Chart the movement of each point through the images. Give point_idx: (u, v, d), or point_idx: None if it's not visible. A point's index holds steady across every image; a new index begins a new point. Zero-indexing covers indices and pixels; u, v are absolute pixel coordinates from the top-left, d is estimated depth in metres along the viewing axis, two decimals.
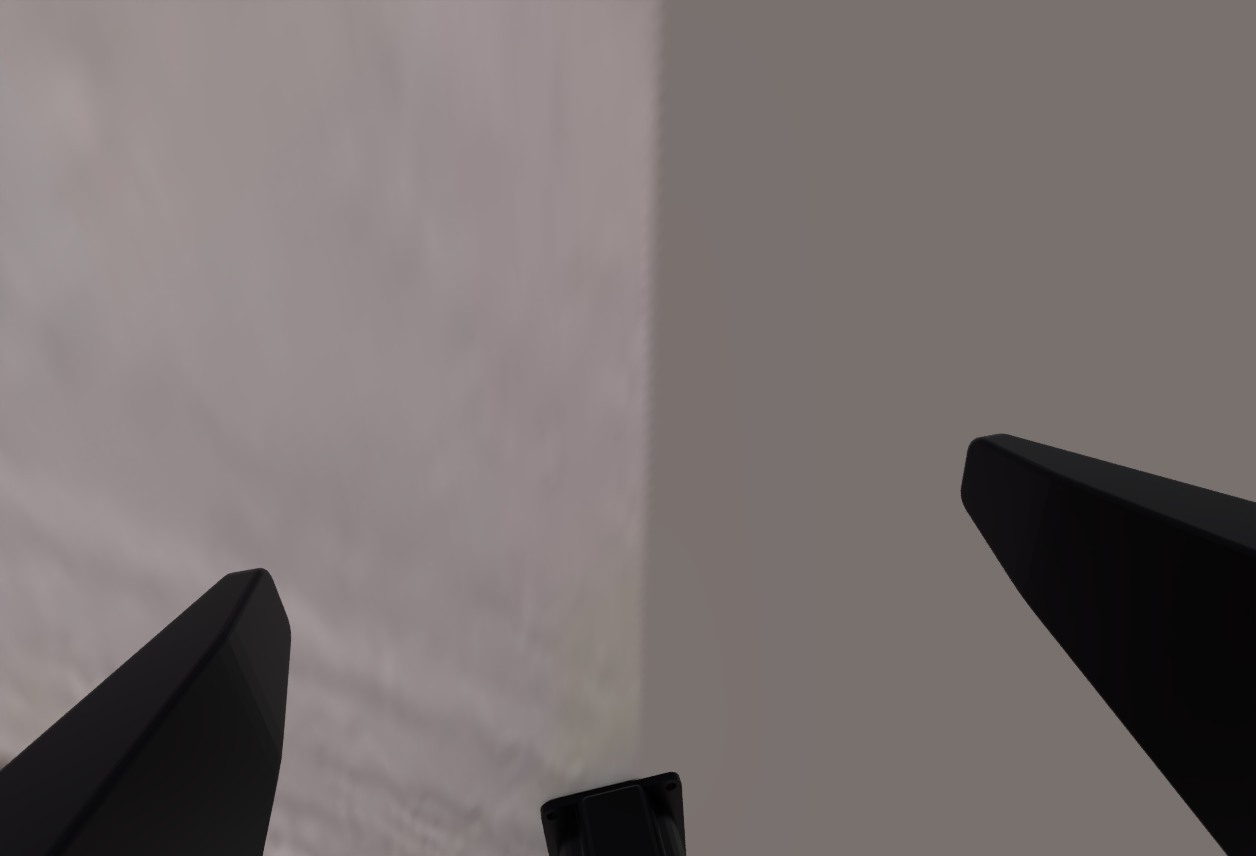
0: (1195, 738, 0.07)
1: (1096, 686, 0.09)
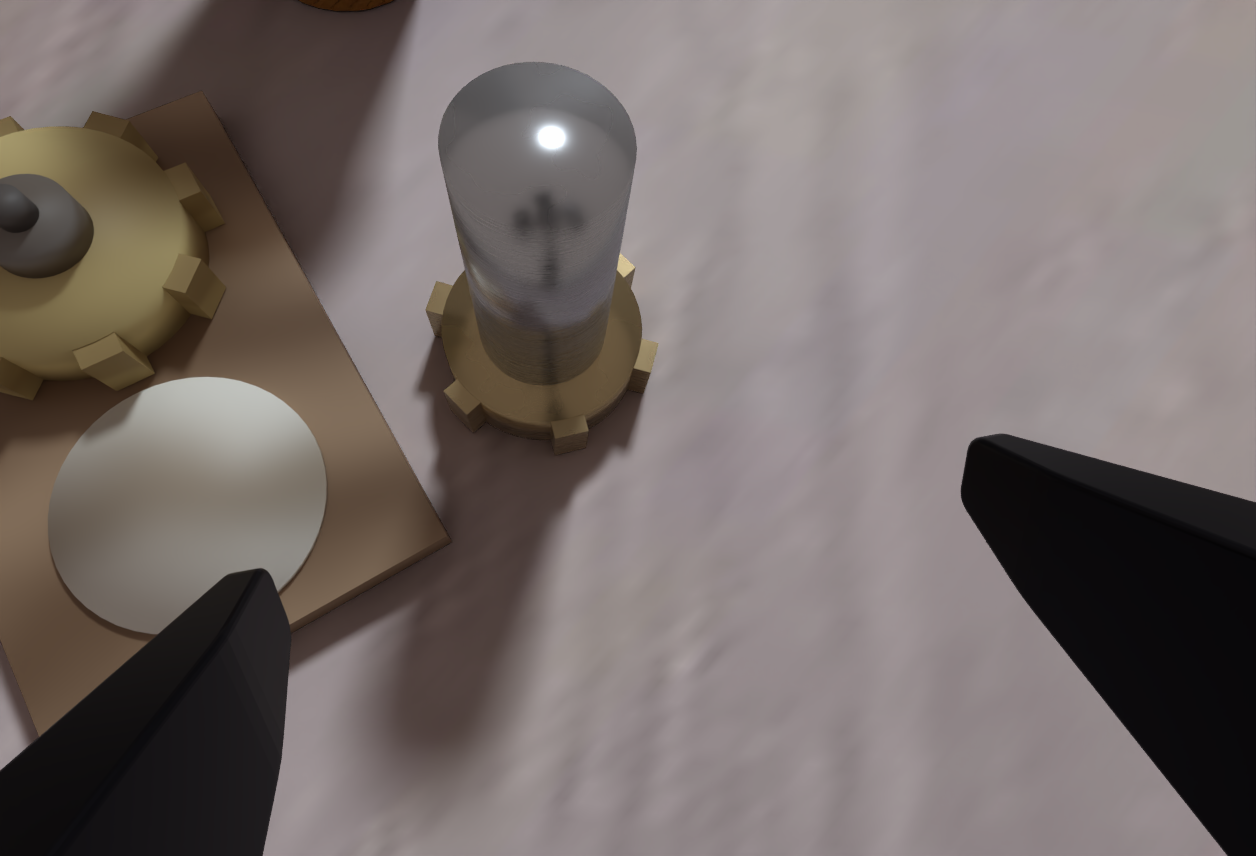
0: (1195, 738, 0.07)
1: (1096, 687, 0.09)
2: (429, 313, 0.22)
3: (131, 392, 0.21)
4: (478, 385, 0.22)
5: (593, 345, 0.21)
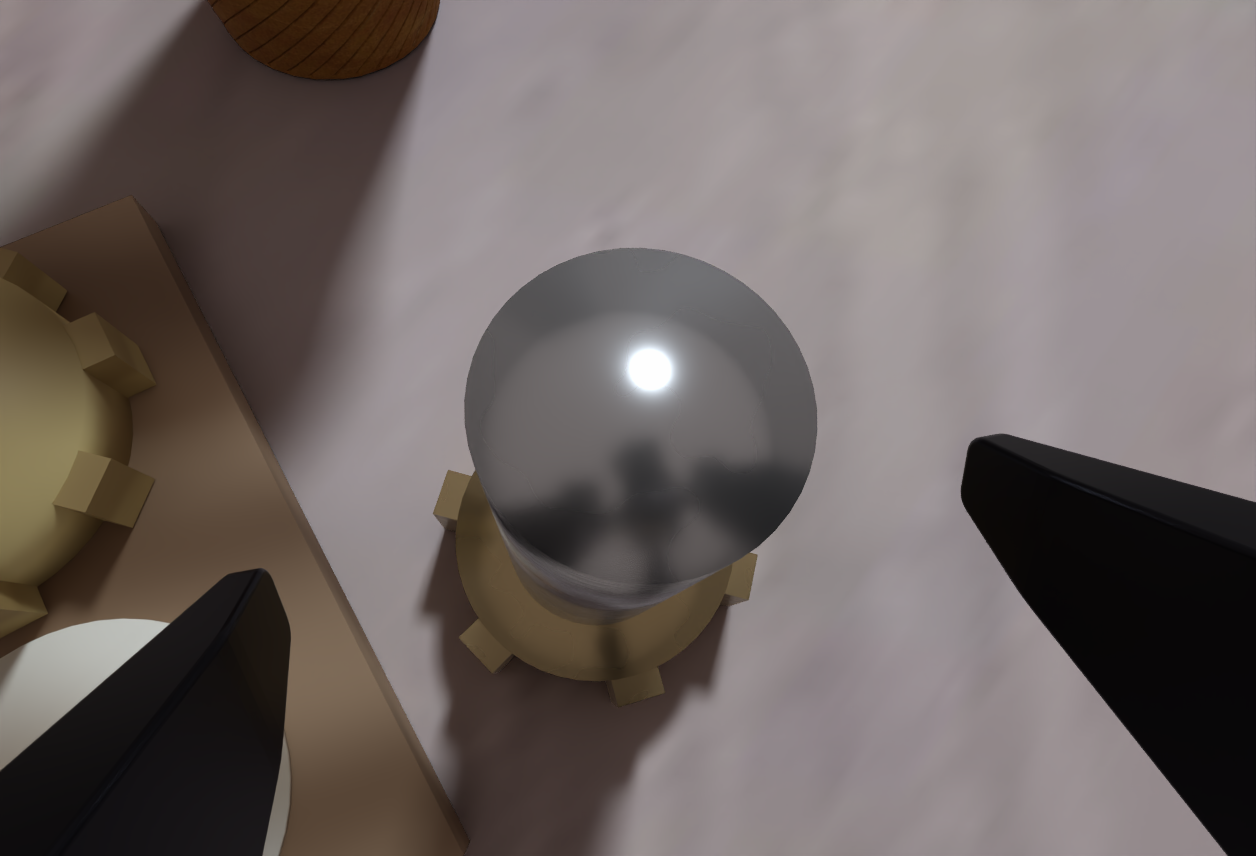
0: (1195, 738, 0.07)
1: (1097, 687, 0.09)
2: (438, 516, 0.16)
3: (12, 643, 0.15)
4: (507, 627, 0.15)
5: None
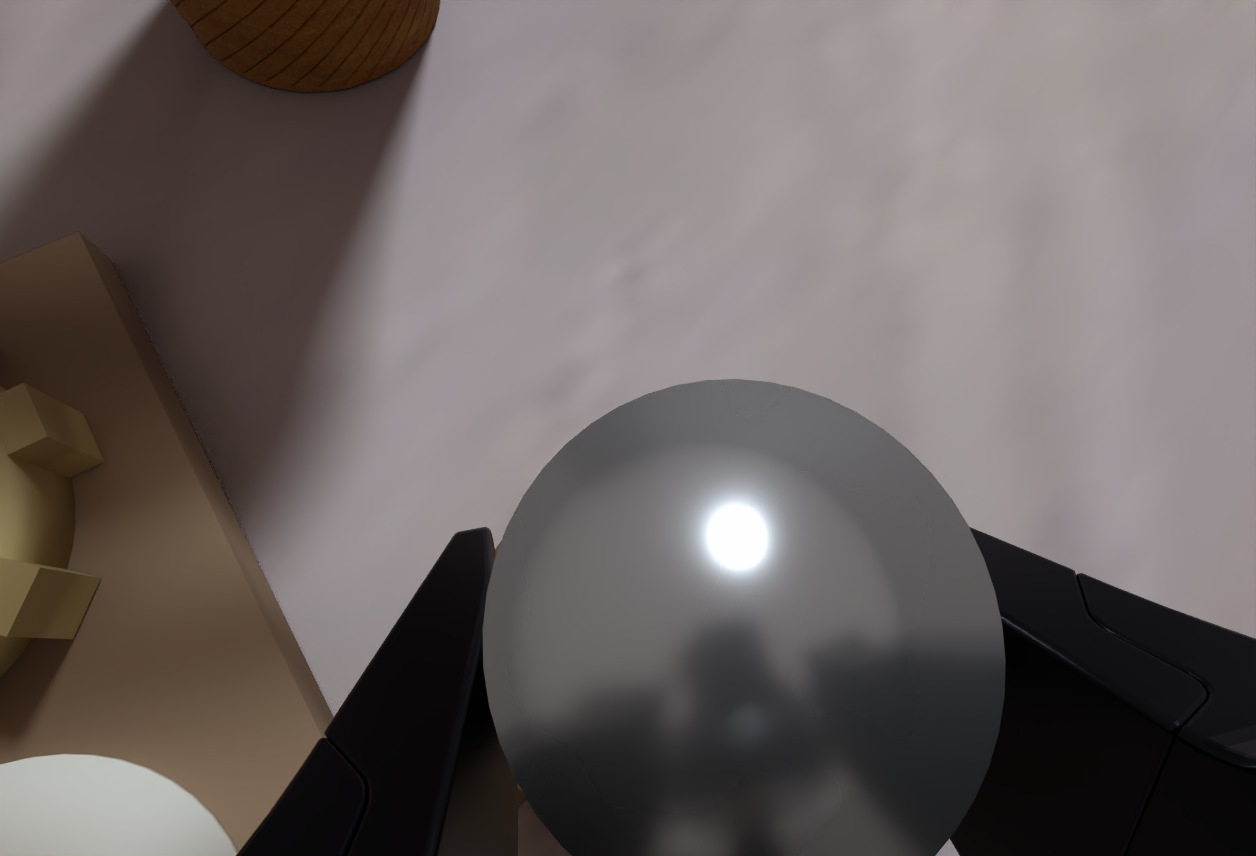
0: None
1: None
2: None
3: None
4: None
5: None
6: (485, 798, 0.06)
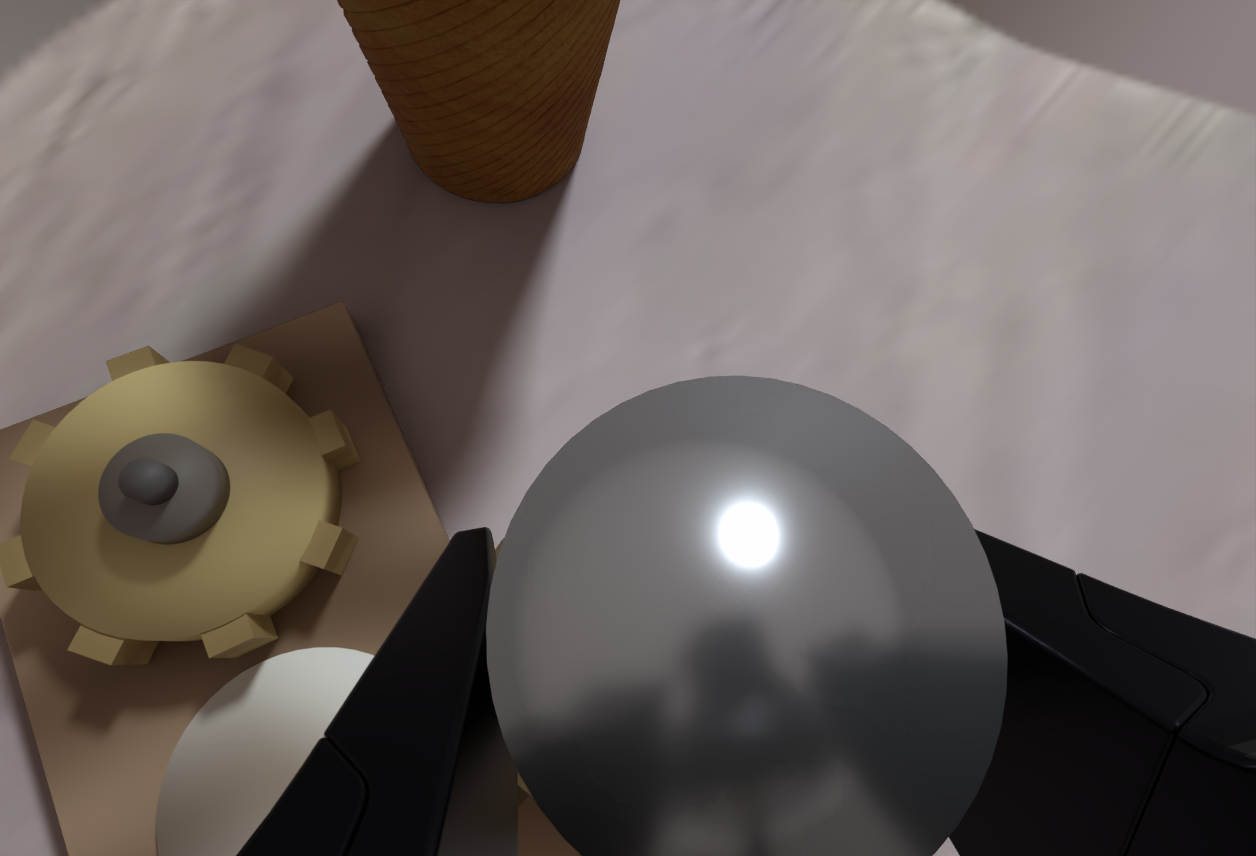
0: None
1: None
2: None
3: (252, 658, 0.20)
4: None
5: None
6: (485, 798, 0.06)
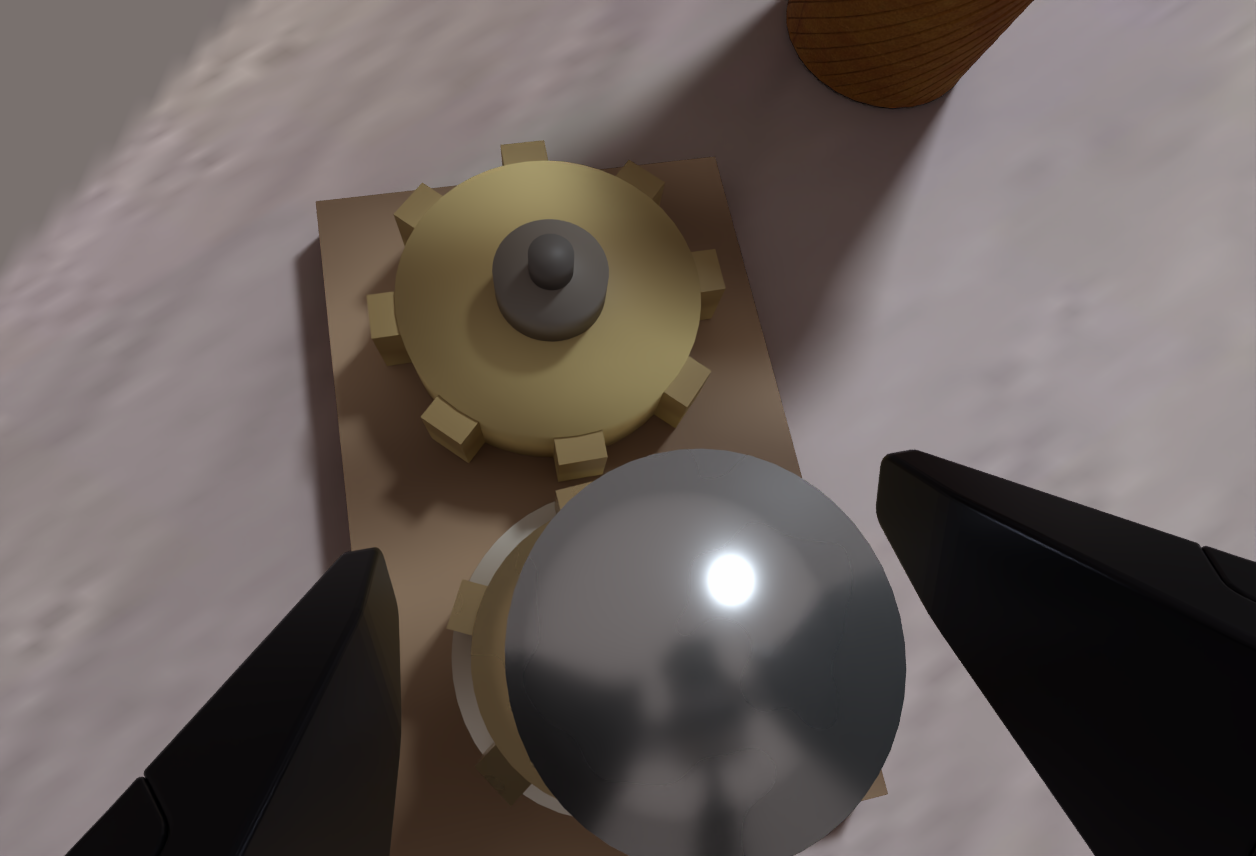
0: (1084, 767, 0.07)
1: (996, 711, 0.08)
2: (452, 629, 0.15)
3: None
4: (527, 755, 0.14)
5: None
6: (324, 837, 0.06)
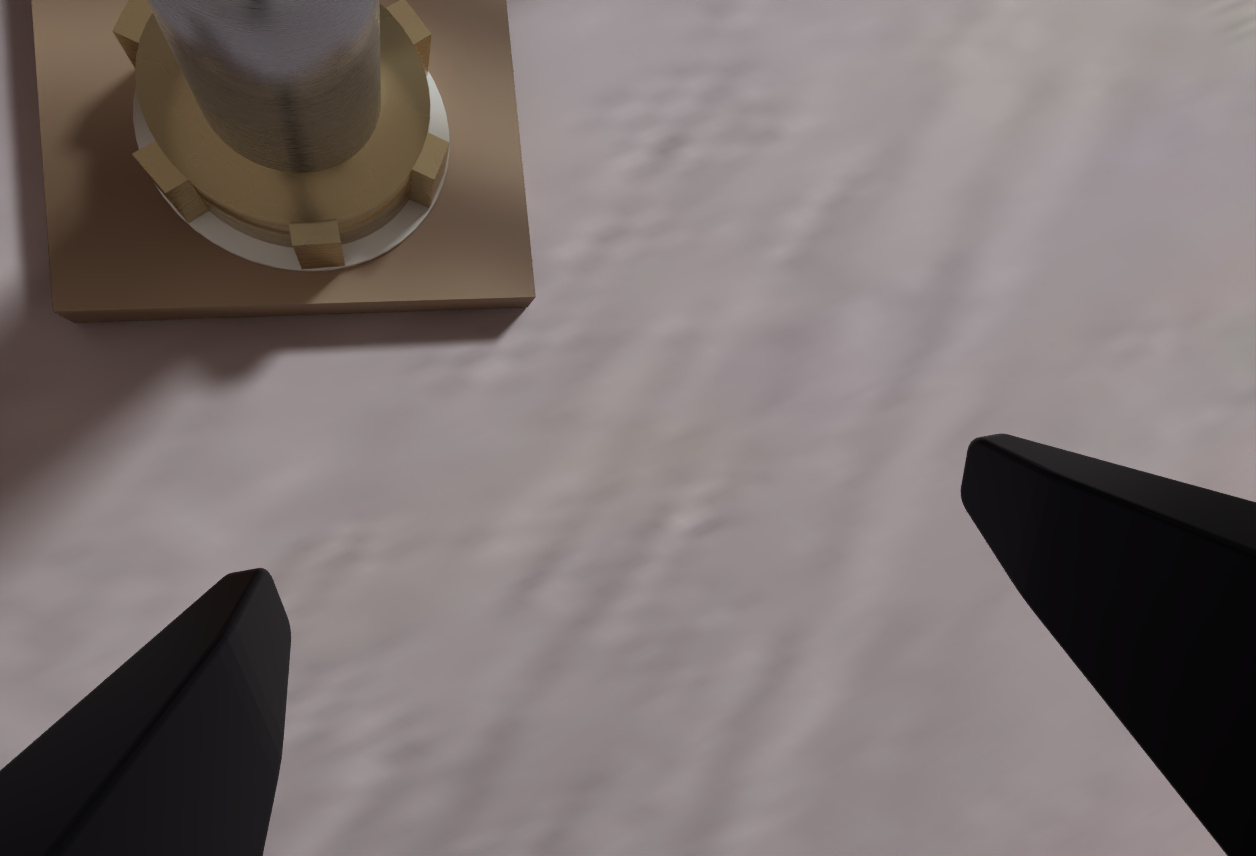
0: (1195, 738, 0.07)
1: (1097, 687, 0.09)
2: (120, 37, 0.16)
3: None
4: (186, 155, 0.16)
5: (349, 124, 0.15)
6: None
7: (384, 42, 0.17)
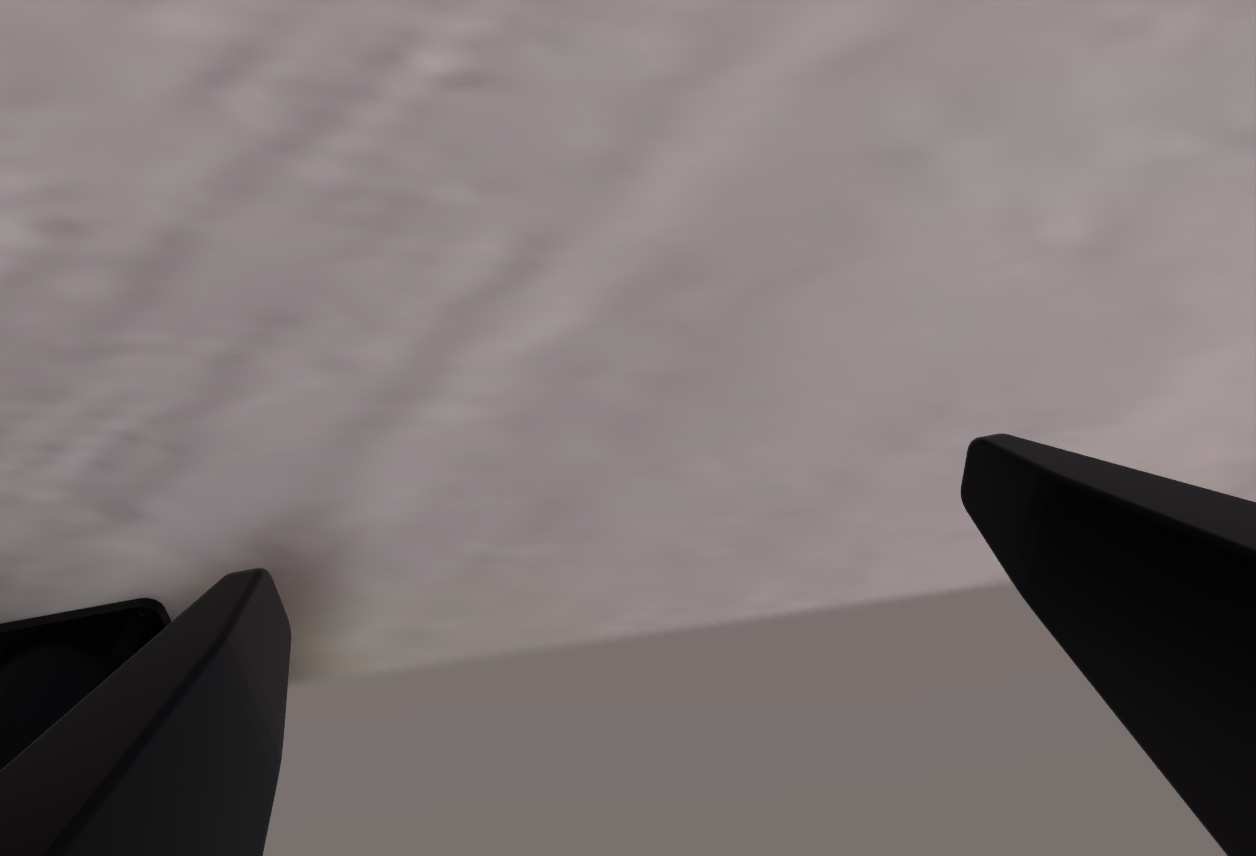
0: (1195, 738, 0.07)
1: (1096, 687, 0.09)
2: None
3: None
4: None
5: None
6: None
7: None
